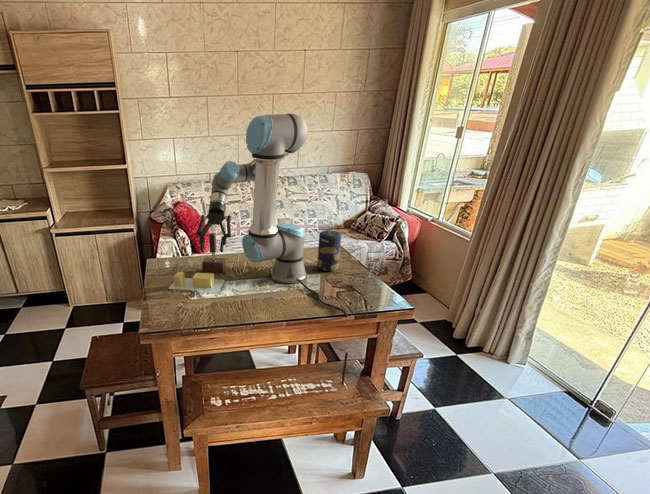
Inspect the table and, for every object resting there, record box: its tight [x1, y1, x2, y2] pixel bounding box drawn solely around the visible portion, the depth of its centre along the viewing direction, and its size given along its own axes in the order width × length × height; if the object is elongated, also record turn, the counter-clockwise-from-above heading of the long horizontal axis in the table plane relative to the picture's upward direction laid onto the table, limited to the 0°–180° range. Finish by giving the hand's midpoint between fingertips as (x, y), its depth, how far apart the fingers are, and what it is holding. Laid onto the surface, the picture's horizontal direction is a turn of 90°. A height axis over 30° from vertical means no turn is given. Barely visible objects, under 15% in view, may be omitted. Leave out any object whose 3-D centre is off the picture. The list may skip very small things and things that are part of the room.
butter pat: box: [172, 271, 186, 286], centre depth 175 cm, size 3×6×4 cm, turn 168°
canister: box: [316, 229, 342, 272], centre depth 182 cm, size 10×10×18 cm
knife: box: [208, 232, 218, 262], centre depth 184 cm, size 2×3×17 cm
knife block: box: [201, 257, 227, 274], centre depth 187 cm, size 10×6×6 cm, turn 78°
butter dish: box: [168, 277, 225, 292], centre depth 175 cm, size 22×12×1 cm, turn 78°
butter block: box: [191, 272, 215, 288], centre depth 173 cm, size 8×6×4 cm
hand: (211, 250), depth 180 cm, fingers open, 8 cm apart
